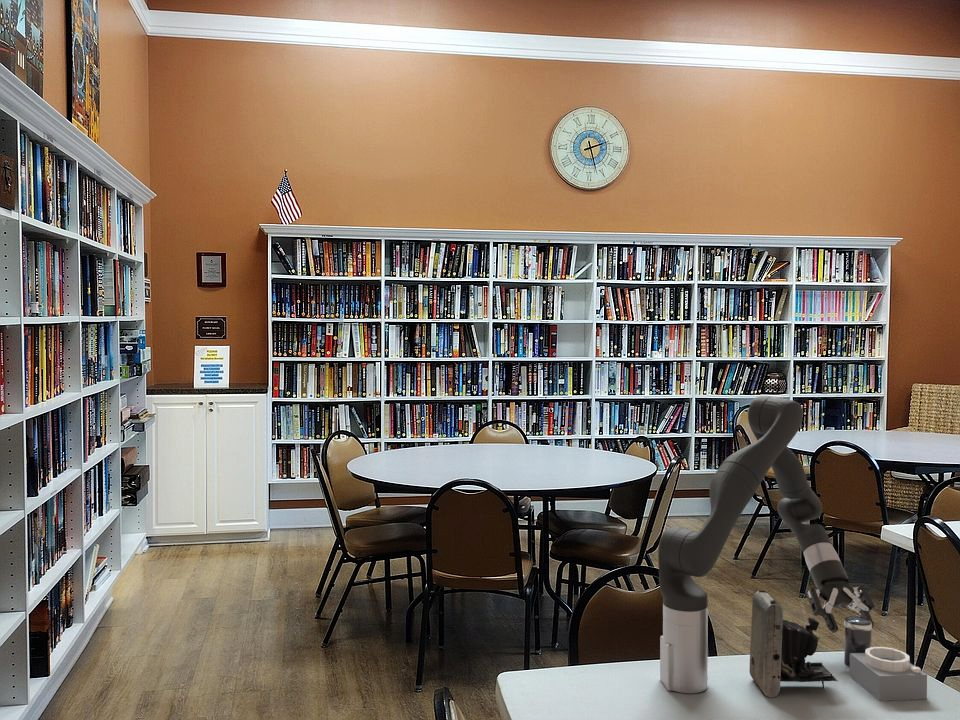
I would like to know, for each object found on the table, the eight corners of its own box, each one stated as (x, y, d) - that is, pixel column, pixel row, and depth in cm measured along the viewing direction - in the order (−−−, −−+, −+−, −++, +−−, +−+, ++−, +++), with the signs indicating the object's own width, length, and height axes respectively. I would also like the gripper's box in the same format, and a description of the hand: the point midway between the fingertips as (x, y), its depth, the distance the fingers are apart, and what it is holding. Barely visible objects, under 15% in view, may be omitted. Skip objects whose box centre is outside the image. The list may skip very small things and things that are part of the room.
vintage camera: (838, 701, 167) (842, 604, 167) (762, 698, 168) (765, 601, 167) (819, 681, 177) (823, 590, 177) (747, 679, 177) (751, 587, 177)
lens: (851, 669, 182) (852, 625, 181) (839, 659, 187) (839, 616, 187) (876, 669, 182) (876, 624, 182) (863, 659, 188) (863, 615, 187)
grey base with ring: (879, 700, 166) (879, 666, 166) (849, 676, 178) (849, 644, 178) (926, 699, 167) (927, 665, 167) (894, 674, 179) (894, 643, 179)
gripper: (803, 559, 194) (830, 624, 183) (859, 557, 196) (889, 621, 185) (791, 575, 199) (817, 639, 188) (845, 572, 201) (874, 635, 190)
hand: (853, 630), depth 186 cm, fingers open, 8 cm apart
